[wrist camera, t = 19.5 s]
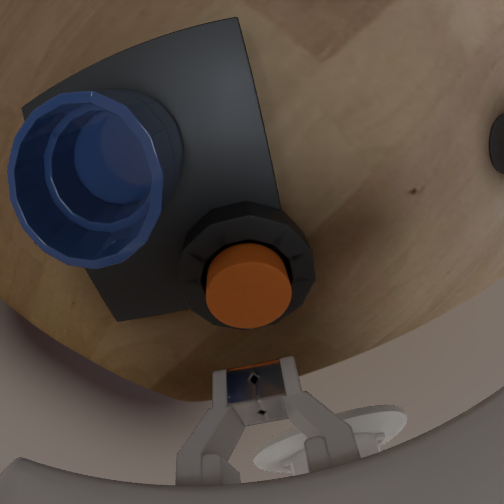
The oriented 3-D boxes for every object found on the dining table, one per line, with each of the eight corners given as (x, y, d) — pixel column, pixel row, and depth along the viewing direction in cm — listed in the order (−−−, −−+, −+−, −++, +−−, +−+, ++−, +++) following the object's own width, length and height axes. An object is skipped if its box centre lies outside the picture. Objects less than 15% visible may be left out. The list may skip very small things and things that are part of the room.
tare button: (290, 297, 16) (296, 318, 14) (219, 312, 16) (219, 335, 14) (278, 233, 14) (285, 252, 12) (196, 253, 14) (194, 274, 12)
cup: (199, 195, 14) (188, 245, 10) (91, 228, 14) (51, 282, 10) (164, 71, 11) (130, 58, 6) (51, 121, 11) (-11, 142, 7)
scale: (307, 282, 19) (319, 313, 16) (127, 320, 19) (117, 351, 17) (255, 19, 10) (263, 1, 8) (32, 105, 11) (0, 112, 8)
